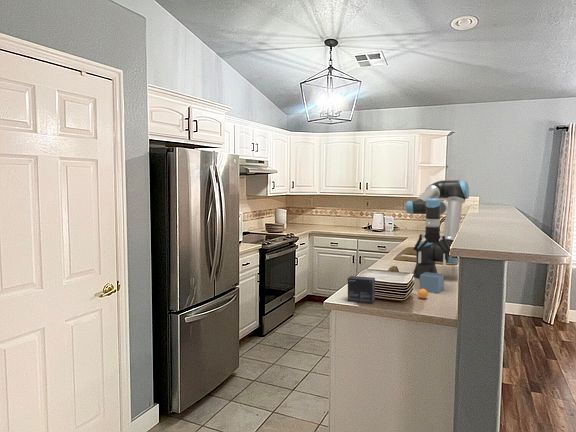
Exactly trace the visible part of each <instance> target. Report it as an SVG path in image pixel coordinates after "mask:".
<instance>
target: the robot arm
mask: <svg viewBox="0 0 576 432" xmlns="http://www.w3.org/2000/svg"><path fill="white" fill-rule="evenodd" d="M469 198H470V187H469V184H468V182H467V181H466V180H463V179H461V180H459V179H457V180H455V179H454V180H449V179H448V180H447V179H446V180H445V179H443V180H438V181H436V182H433V183H432V184H430V185H428V186H426V188H425V190H424V191H423V192H422V193H421V194H420V195H419V196H418V197H416V198H415V200H407V202H406V203H405V211H406V213H407V214H412V215H425V232H424V233H425V234H423V233H421V234H419V236H418V239H417V241H416V244H415V245H414V247H413V251H415V259H416V260H415V267H414V269H413V272H412V275H413V274H414V276H413V278H416V279H420V275H421V274H423V273H425V272H430V273H438V269H437V266H436V262H438V263H442V265H443V267H444V266H446V265H447V264H457V263H459V261H458V259H457V258H450V255H449V251H450V246H451V244H452V242H453V240H454V238H455V236H456V234H457V232H458V230H459V231H460V224H461V218H462V217H461V214H462V208H463V204H464V203H466V200H468V199H469ZM441 199H445V201H446V202H447V204H446V203H445V202H444V201H442V200H441ZM445 213H446V214H445ZM443 214H445V221H444V226H443V227H444V228H443V234H442V235H440V234H441V233H440V232H441V227H440V226H441V215H443ZM458 233H459V232H458ZM423 239H425V240H423Z"/></svg>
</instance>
